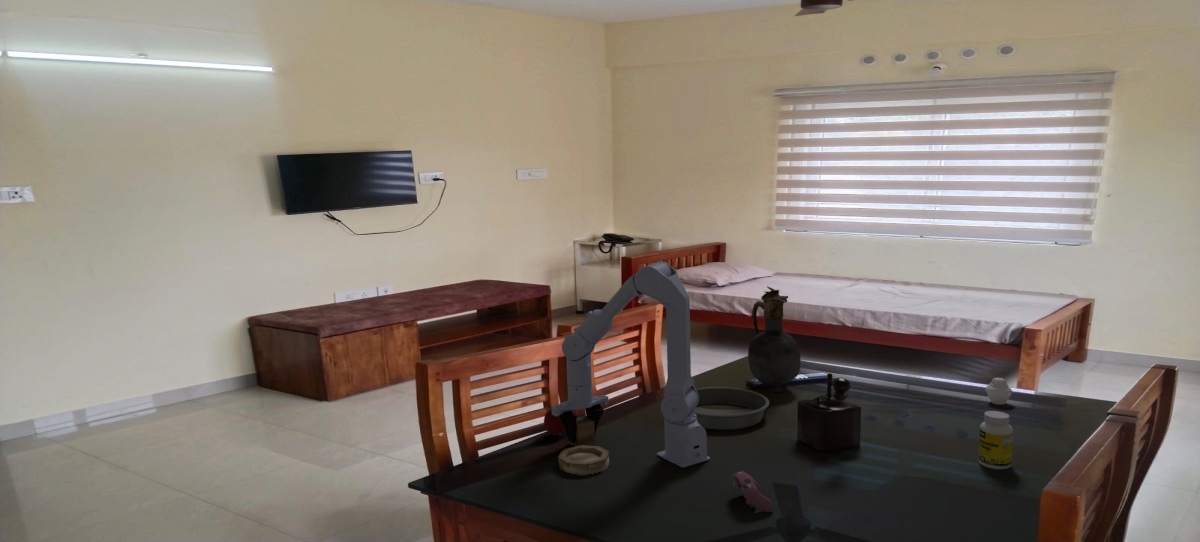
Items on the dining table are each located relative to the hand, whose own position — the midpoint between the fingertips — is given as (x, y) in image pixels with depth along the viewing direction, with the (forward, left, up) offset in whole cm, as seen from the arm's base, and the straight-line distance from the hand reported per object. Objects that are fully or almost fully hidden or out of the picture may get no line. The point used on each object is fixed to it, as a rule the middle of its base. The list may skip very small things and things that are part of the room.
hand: (581, 438), depth 176 cm
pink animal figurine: (-46, -10, -2) cm, 47 cm away
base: (-11, +6, -1) cm, 13 cm away
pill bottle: (-63, -64, -2) cm, 90 cm away
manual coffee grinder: (-36, -46, -2) cm, 58 cm away
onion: (+9, +2, -2) cm, 9 cm away
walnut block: (0, 0, -2) cm, 2 cm away
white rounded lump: (-41, -104, -2) cm, 112 cm away
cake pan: (-4, -40, -2) cm, 40 cm away
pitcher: (+6, -68, -2) cm, 68 cm away
